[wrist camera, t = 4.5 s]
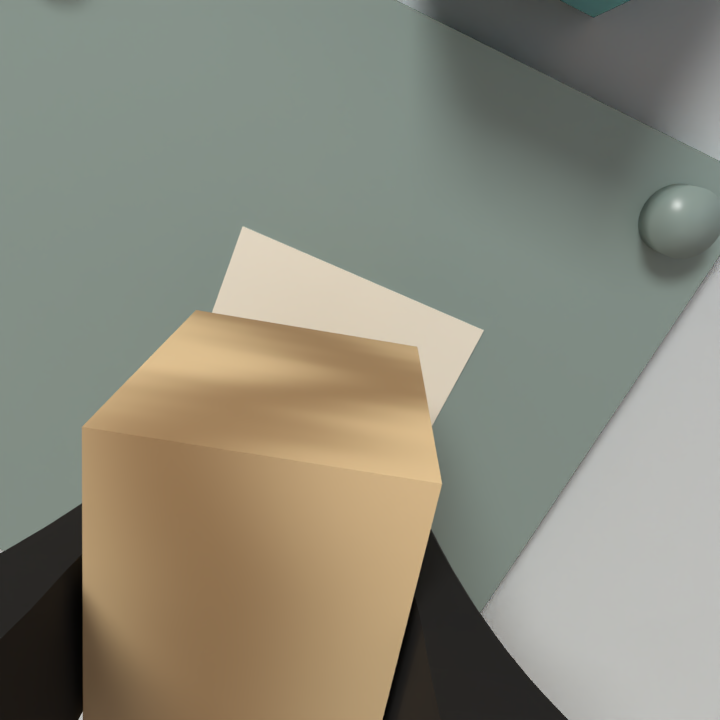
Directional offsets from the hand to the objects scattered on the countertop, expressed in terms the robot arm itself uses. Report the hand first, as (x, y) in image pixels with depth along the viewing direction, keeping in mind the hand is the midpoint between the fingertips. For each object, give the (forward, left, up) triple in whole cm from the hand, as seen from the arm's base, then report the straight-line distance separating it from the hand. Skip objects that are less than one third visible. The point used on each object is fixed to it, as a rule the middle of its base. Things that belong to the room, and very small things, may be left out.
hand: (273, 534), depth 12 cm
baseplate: (+1, -1, -6) cm, 6 cm away
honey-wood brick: (0, 0, -2) cm, 2 cm away
